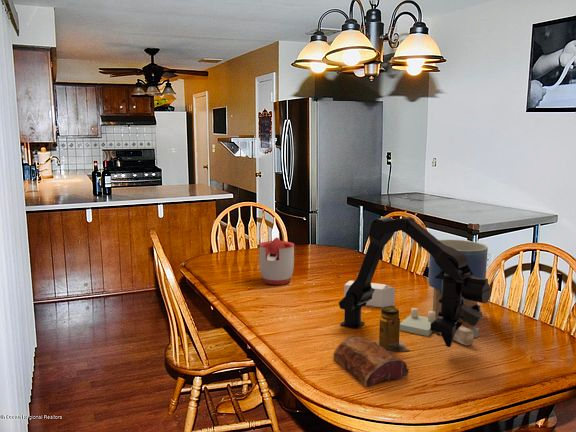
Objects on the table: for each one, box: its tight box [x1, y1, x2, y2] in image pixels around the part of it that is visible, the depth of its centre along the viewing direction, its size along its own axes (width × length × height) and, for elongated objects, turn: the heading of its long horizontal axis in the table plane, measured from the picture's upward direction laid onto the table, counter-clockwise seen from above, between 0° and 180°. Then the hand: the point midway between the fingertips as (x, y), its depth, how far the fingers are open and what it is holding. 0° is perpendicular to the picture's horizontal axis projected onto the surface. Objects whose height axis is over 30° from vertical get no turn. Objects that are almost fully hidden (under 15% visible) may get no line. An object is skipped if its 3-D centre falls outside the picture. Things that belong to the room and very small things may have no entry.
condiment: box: [376, 306, 410, 353], centre depth 157 cm, size 7×8×12 cm
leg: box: [435, 316, 474, 347], centre depth 165 cm, size 14×4×4 cm, turn 29°
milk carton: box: [343, 279, 396, 308], centre depth 200 cm, size 7×7×19 cm
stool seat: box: [400, 307, 436, 337], centre depth 174 cm, size 12×10×5 cm
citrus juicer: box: [258, 237, 295, 286], centre depth 227 cm, size 16×17×20 cm
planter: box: [427, 239, 489, 319], centre depth 183 cm, size 19×19×26 cm
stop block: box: [462, 324, 480, 339], centre depth 168 cm, size 3×5×2 cm, turn 57°
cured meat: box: [333, 335, 409, 388], centre depth 147 cm, size 18×25×7 cm
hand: (448, 346), depth 152 cm, fingers closed
